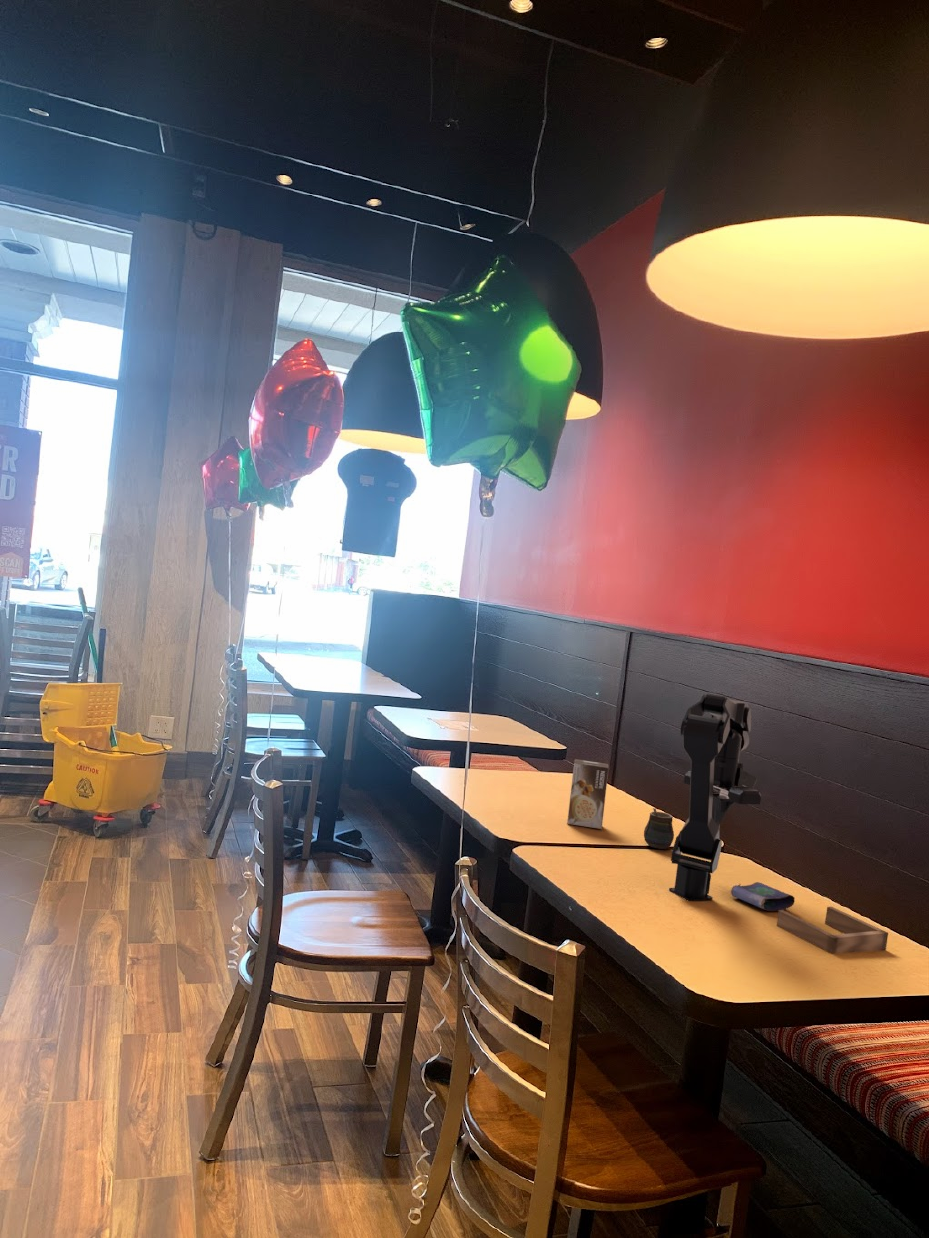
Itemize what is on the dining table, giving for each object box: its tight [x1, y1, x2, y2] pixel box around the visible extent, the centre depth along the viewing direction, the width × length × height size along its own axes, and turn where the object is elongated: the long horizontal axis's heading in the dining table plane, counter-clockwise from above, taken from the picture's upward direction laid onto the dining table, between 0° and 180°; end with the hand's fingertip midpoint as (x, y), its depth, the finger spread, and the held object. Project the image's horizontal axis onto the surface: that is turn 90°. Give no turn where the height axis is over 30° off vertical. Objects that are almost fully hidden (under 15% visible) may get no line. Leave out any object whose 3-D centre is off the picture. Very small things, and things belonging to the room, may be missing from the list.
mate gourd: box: [643, 807, 675, 850], centre depth 226 cm, size 7×8×10 cm
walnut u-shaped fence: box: [776, 906, 889, 955], centre depth 174 cm, size 14×13×4 cm
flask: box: [730, 881, 796, 912], centre depth 190 cm, size 9×3×11 cm
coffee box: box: [566, 758, 610, 830], centre depth 239 cm, size 9×6×16 cm
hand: (716, 825), depth 203 cm, fingers closed
